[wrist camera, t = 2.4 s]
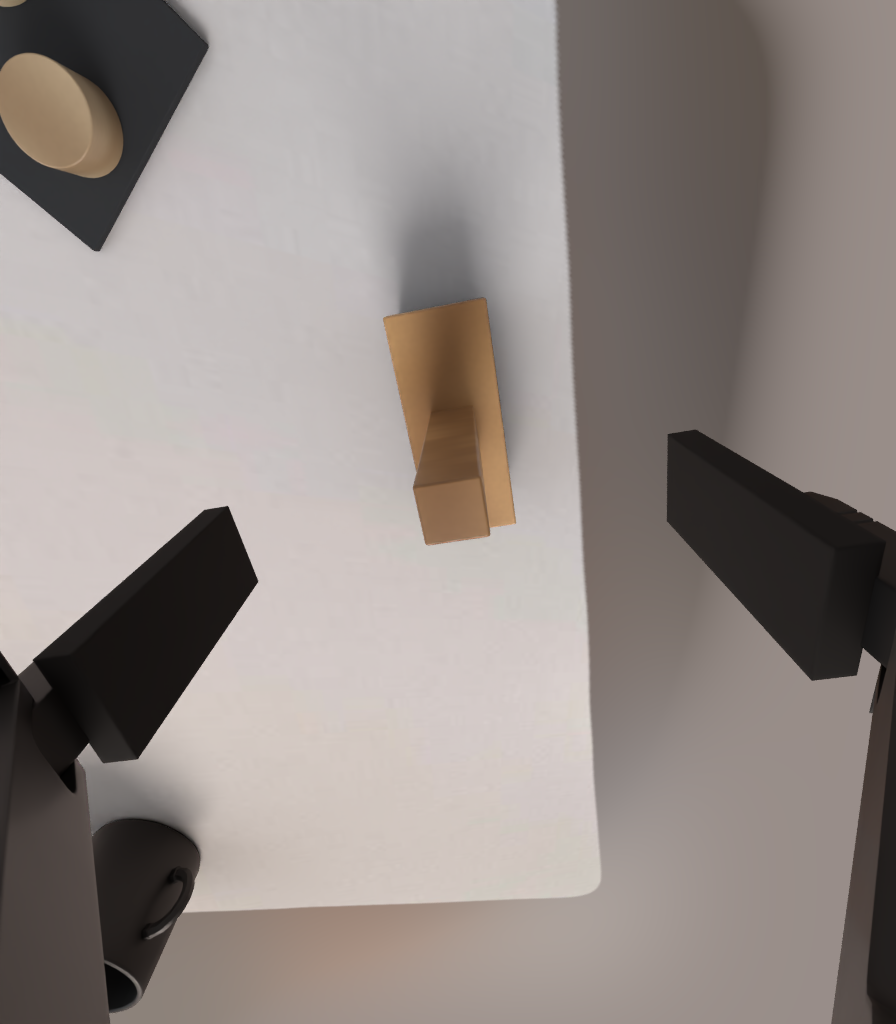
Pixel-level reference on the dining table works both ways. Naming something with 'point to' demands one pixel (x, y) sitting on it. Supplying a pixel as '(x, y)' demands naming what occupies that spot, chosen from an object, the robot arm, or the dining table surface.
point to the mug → (139, 900)
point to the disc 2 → (59, 116)
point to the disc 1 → (10, 3)
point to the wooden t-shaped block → (452, 419)
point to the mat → (124, 80)
